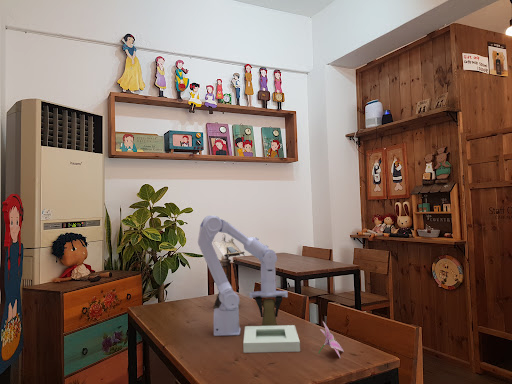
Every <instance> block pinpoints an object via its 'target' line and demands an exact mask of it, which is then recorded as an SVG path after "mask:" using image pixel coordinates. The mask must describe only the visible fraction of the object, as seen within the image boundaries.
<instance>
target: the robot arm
mask: <svg viewBox="0 0 512 384" xmlns="http://www.w3.org/2000/svg"><path fill="white" fill-rule="evenodd" d="M218 233H223V234H227V235H229V236H231V238H232V237H233V239H234V240H236V241H237V242H239V243H240V244H243V249H244V250H245V251H246V252H247V253H249V254H251V256H253V257H255V258H256V259H258V260H259V262H260V290H259V291H258V290H257V291H250V292H249V298H250V299H252V298H255V303H256V304H257V307H258V310H259V313H260V318H263V306H262V301H263V299H262V298H275V299H274V300H275V303H276V305H275V308H274V310H275V316H276V318H278V314H279V309H280V307H281V304H282V301H283V298H288V295H289V293H288V291H285V290H277V282H276V276H277V275H276V272H277V271H276V263H277V261H278V256H277V254H276V251H274V250H272V249H269V246H268V245H266V244H263V243H262V242H261V241H260V239H259V238H258V237H253V236H250V237H248V236H246V235H245V234H244V233H243V232H241V230H239V229H238V228H236V227H235V226H234V225H232V224H231V223H229V222H228V221H226V220H224V219H222V218H220V217H219V216H217V215H207V216H205V217H204V218H203V220H202V221H201V223H200V224H199V231H198V238H197V244H198V247H199V249H200V251H201V254H202V256H203V258H204V260H205V262H206V265H207V267H208V270H209V272H210V274H211V276H212V278H213V280H214V281H213V282H214V283H215V285H216V289H217V291H218V294H219V300H220V302H221V305H220V306H219V308H216V309H213V326H212V327H213V336H214V337H215V336H217V337H218V336H219V337H220V336H240V335H241V327H240V313H239V312H240V311H239V310H240V301H241V300H240V296H239V295H238V293H237V292H235V291H234V289H233V286H232V285H231V284H230V282H229V279H227V277H226V275H225V273H224V270H223V266H221V262H220V259H219V257H218V254H217V252H216V250H215V248H214V244H213V242H214V240H215V237H216V235H217V234H218ZM238 305H239V306H238Z"/></svg>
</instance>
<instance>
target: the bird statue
mask: <svg viewBox="0 0 512 384" xmlns="http://www.w3.org/2000/svg"><path fill="white" fill-rule="evenodd" d="M212 244H213V246H215V247H216V248H217V250H218V251H219V252H220V254H221V257H220V258H221V259H219V261H220V263H221V266H222V268H223V270H224V273H225V275H226V277H227V279H228V278H229V267H230V266H231V261H232V260H231V259H230V257H237V256H238V257H239V256H240V257H241V255H243V256H245V251H241V249H239V247H238V245H236V243H235V242H234V238H233V237H232V236H231V239H228V241H226V234H225V233H223V234H222V239H221V242H219V241H216V240H213V241H212ZM228 280H229V279H228ZM220 305H221V302H220V300H219V293H217V295H216V300H215V302H214V304H213V309H212V310H214V309H216V308H219V306H220ZM238 306H239V307H240V304H239V305H238Z"/></svg>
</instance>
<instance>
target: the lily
mask: <svg viewBox="0 0 512 384" xmlns="http://www.w3.org/2000/svg"><path fill="white" fill-rule="evenodd" d="M322 323H323V326H324V328H325V329H322V328H320V329H319V330H320V331H321V332H322V334H323V335H324V336H325V340H324V341H325V342H324V344H323V345H322V346H321V348H320V350H319V351H318V353H317V354H320V352H321V351H322V350H323V347H325V346H326V345H327V346H329V347H330V348H332V349H334V350H335V352H336V354H337V355H338V357H339V358H341V356H340V352H339V351H341V352H342V353H344V349H343V347H342V346H341V345H340V343H339V342H338V341H337V338H336V337H335V336H334V335H333V333H332V332H330V329H329V328H328V326H327V324H326V323H325V322H324V321H322Z"/></svg>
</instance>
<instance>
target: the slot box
mask: <svg viewBox="0 0 512 384" xmlns="http://www.w3.org/2000/svg"><path fill="white" fill-rule="evenodd" d="M243 333H244V334H243V343H242V344H243V345H242V346H243V349H242V350H243V353H245V354H246V353H286V352H287V353H288V352H289V353H291V352H293V353H294V352H297V353H298V352H301V342H300V341H301V340H300V339H299V335H298V331H297V328H296V326H295V324H294V325H293V324H292V325H291V324H290V325H289V324H287V325H285V324H284V325H282V324H281V325H277V326H262V325H247V326H246V325H245V326H244V332H243Z"/></svg>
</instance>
